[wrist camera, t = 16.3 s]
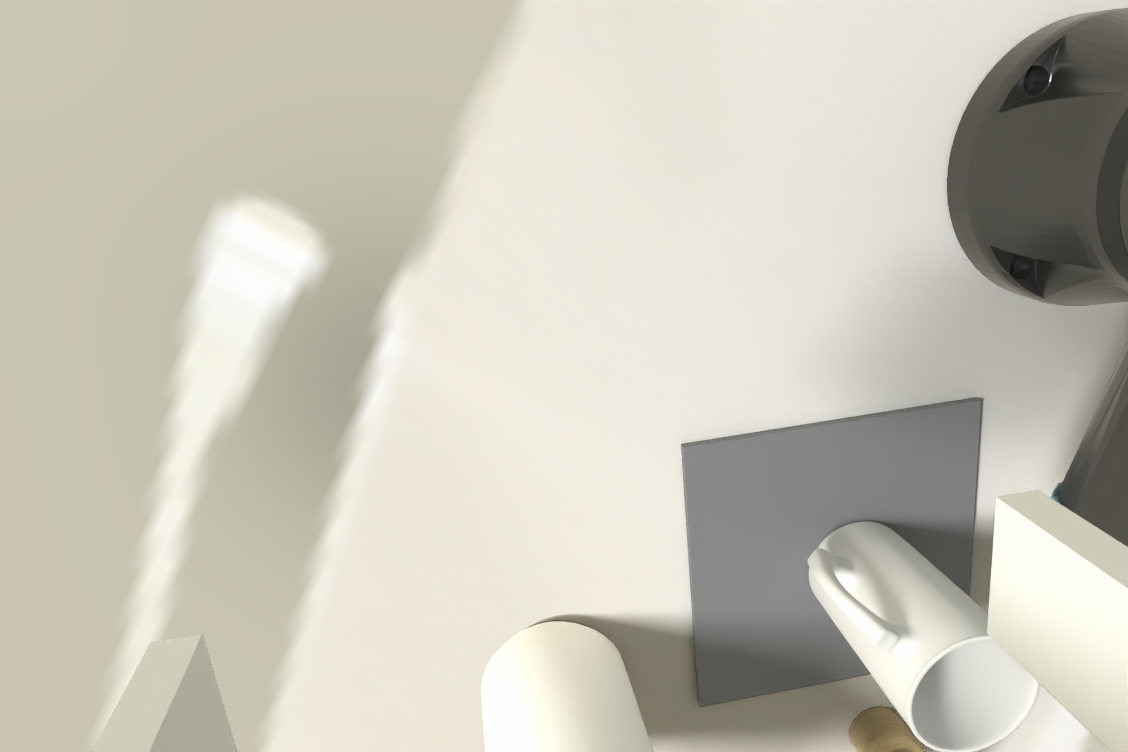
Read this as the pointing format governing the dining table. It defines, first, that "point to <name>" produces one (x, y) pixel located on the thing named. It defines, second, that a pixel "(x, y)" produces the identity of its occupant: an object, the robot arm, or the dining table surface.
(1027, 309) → the dining table surface
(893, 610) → the mug
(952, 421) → the mat
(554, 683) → the alcohol
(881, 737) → the spacer posts
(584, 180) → the dining table surface
